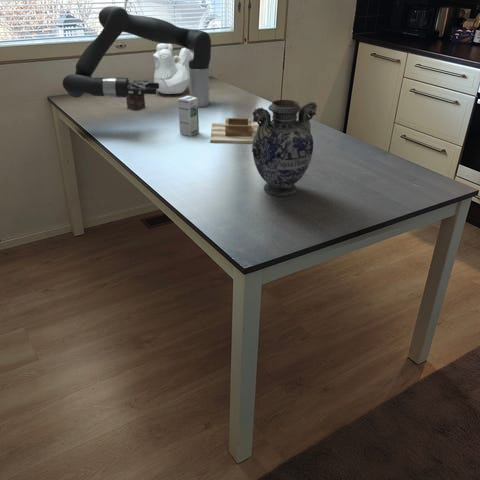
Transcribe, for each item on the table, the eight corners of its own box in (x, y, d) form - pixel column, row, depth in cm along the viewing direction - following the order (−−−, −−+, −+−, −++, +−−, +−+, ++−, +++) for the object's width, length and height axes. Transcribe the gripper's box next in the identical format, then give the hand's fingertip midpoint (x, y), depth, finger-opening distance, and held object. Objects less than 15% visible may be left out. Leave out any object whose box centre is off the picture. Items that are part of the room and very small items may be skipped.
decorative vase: (262, 206, 158) (266, 114, 145) (238, 183, 173) (239, 98, 159) (324, 196, 166) (333, 107, 152) (295, 175, 181) (301, 92, 167)
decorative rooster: (159, 99, 259) (156, 46, 246) (149, 91, 271) (146, 40, 259) (206, 94, 269) (206, 42, 256) (194, 87, 281) (193, 37, 269)
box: (145, 107, 246) (144, 91, 243) (136, 110, 242) (135, 94, 238) (135, 105, 249) (134, 89, 245) (126, 108, 245) (125, 92, 241)
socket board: (212, 125, 225) (212, 113, 223) (263, 125, 226) (264, 114, 223) (210, 142, 206) (210, 130, 204) (266, 143, 207) (267, 131, 204)
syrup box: (190, 136, 212) (189, 100, 205) (179, 133, 215) (177, 98, 208) (199, 132, 216) (198, 97, 209) (187, 130, 219) (186, 94, 212)
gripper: (111, 81, 199) (154, 83, 200) (118, 73, 212) (159, 74, 212) (113, 101, 203) (155, 102, 203) (120, 92, 215) (160, 93, 216)
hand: (157, 88), depth 208 cm, fingers open, 8 cm apart
